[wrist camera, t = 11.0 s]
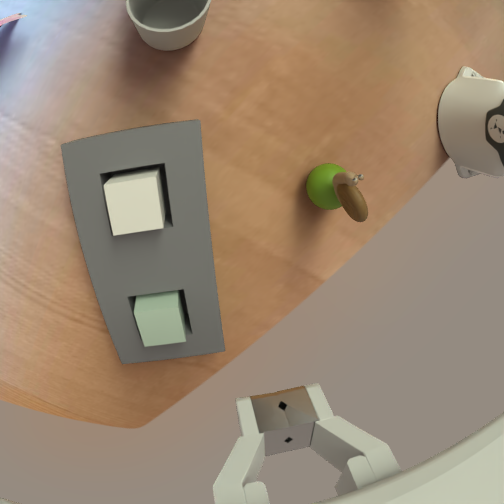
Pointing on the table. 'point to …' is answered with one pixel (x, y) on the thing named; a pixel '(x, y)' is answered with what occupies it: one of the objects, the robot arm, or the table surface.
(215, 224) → the table surface
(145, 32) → the cup
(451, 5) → the table surface
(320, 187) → the snail figurine
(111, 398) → the table surface
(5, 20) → the lily
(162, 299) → the pale green cube
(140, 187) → the white key
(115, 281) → the key console
